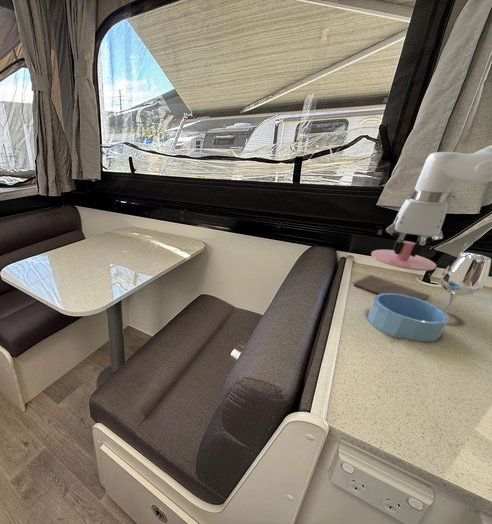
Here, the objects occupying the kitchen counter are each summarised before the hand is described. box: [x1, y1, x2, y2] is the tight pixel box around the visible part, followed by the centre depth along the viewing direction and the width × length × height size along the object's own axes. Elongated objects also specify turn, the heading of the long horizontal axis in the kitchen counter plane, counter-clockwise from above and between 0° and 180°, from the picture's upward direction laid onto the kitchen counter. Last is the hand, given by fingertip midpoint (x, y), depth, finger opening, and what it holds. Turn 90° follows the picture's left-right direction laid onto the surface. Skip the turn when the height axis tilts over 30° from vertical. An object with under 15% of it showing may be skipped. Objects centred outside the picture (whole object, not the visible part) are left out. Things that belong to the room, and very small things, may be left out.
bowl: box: [367, 293, 450, 343], centre depth 74 cm, size 15×15×6 cm
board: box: [353, 276, 428, 301], centre depth 92 cm, size 16×12×1 cm
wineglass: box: [439, 252, 492, 314], centre depth 74 cm, size 8×8×20 cm
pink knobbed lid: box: [370, 240, 437, 272], centre depth 87 cm, size 16×16×7 cm
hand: (404, 253), depth 87 cm, fingers closed on pink knobbed lid, 3 cm apart
